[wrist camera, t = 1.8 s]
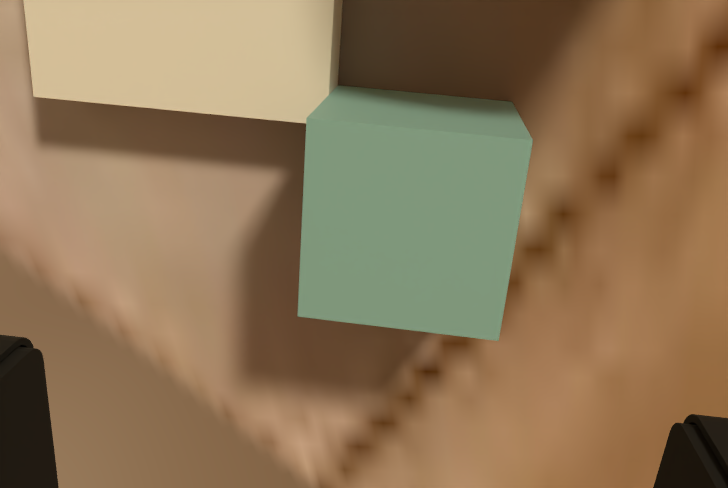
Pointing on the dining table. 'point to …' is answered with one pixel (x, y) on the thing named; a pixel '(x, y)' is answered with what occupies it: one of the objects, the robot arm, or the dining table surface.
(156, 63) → the coaster
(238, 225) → the dining table surface
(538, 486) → the dining table surface
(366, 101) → the block
